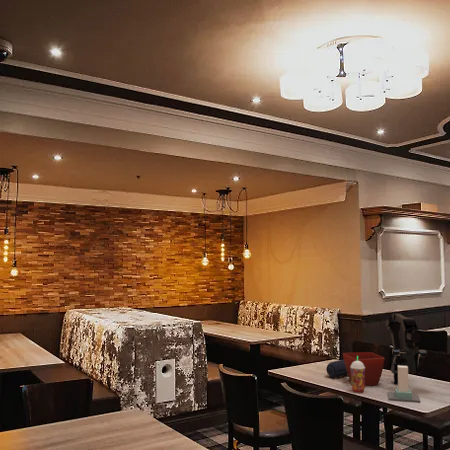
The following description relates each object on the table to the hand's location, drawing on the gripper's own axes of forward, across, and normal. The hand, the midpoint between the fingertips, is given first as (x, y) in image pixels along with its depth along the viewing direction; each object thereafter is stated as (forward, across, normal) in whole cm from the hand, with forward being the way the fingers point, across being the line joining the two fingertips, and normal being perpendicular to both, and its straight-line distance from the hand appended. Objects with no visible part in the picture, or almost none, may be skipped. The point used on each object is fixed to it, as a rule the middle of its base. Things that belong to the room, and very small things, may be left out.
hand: (409, 367), depth 283 cm
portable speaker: (+13, -40, +27) cm, 50 cm away
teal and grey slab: (+13, -5, -18) cm, 23 cm away
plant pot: (+13, -26, +10) cm, 31 cm away
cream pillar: (+9, -5, -18) cm, 21 cm away
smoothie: (+13, -29, -10) cm, 33 cm away
